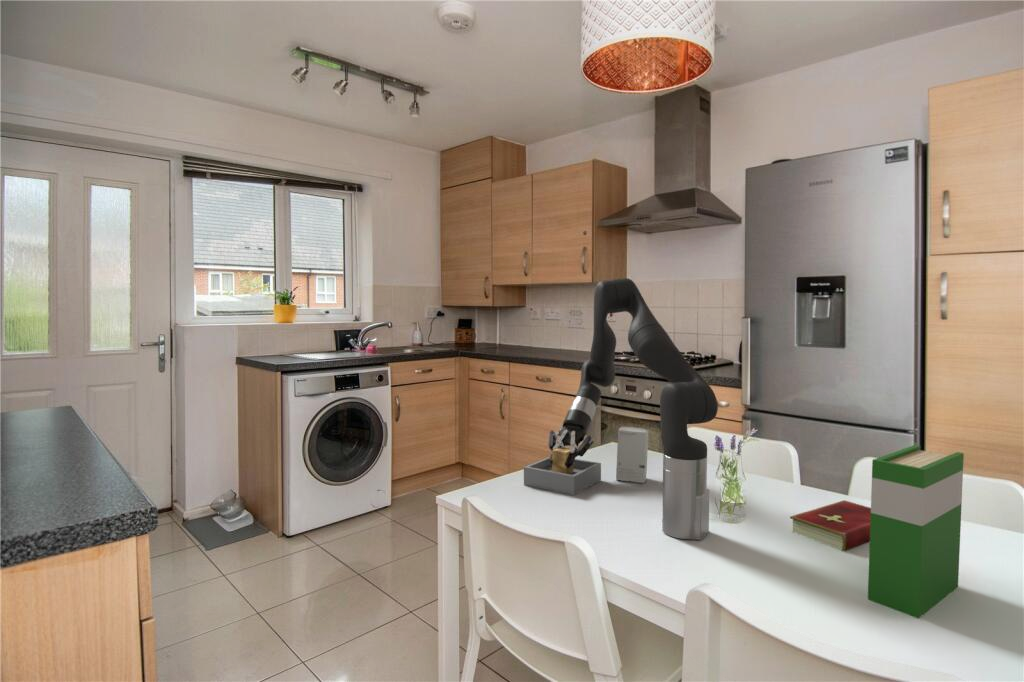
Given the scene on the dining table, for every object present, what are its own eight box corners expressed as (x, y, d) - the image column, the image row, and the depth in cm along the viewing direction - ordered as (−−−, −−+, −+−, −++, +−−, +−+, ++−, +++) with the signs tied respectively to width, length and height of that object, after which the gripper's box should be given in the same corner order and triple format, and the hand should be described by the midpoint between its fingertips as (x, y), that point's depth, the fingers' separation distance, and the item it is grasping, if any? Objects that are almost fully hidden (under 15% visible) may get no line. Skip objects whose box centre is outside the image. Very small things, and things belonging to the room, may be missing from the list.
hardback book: (909, 571, 107) (914, 444, 105) (958, 586, 101) (963, 453, 99) (867, 599, 97) (872, 459, 95) (918, 618, 91) (924, 470, 89)
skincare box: (615, 480, 163) (616, 429, 162) (619, 475, 169) (619, 425, 168) (645, 483, 160) (646, 431, 160) (648, 477, 166) (648, 427, 165)
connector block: (573, 477, 162) (573, 449, 162) (565, 480, 159) (565, 452, 158) (560, 474, 165) (560, 447, 164) (552, 478, 161) (552, 450, 161)
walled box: (600, 480, 164) (601, 463, 164) (573, 495, 151) (574, 476, 150) (553, 471, 173) (553, 455, 173) (523, 484, 160) (523, 467, 160)
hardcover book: (898, 533, 126) (898, 514, 126) (844, 554, 115) (844, 533, 115) (843, 516, 136) (844, 499, 136) (789, 533, 126) (790, 515, 126)
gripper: (554, 405, 171) (532, 454, 162) (597, 410, 163) (577, 461, 154) (563, 420, 176) (542, 468, 166) (605, 425, 167) (586, 476, 158)
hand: (559, 464), depth 160 cm, fingers closed on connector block, 4 cm apart
